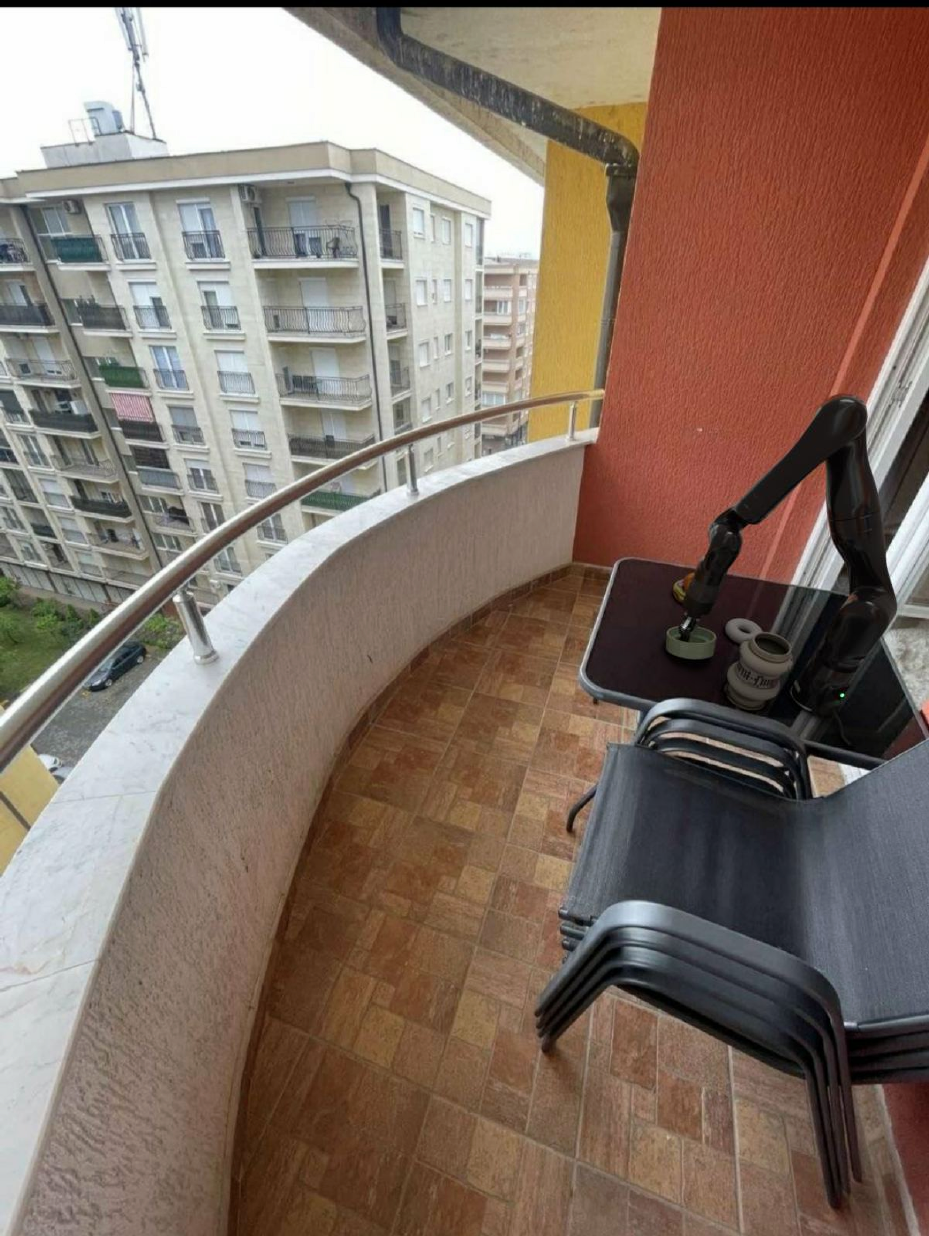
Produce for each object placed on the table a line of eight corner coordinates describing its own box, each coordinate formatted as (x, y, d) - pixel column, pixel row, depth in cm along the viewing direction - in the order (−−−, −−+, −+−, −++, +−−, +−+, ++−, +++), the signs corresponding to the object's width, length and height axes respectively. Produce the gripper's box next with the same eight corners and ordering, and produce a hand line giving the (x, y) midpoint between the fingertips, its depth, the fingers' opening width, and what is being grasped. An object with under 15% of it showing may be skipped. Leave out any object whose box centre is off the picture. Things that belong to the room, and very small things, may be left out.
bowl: (724, 656, 145) (726, 638, 143) (685, 664, 141) (687, 646, 139) (693, 639, 155) (695, 623, 154) (656, 646, 152) (657, 630, 150)
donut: (726, 645, 153) (764, 650, 152) (730, 636, 151) (768, 641, 150) (720, 622, 161) (756, 627, 159) (724, 613, 159) (761, 618, 157)
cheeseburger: (688, 583, 175) (704, 562, 167) (708, 609, 169) (726, 588, 161) (663, 590, 171) (678, 568, 163) (683, 616, 166) (699, 595, 158)
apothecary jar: (711, 678, 143) (736, 626, 131) (755, 677, 144) (784, 625, 132) (732, 714, 134) (761, 662, 122) (779, 713, 135) (812, 661, 123)
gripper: (706, 611, 134) (685, 662, 145) (726, 587, 142) (705, 637, 153) (677, 598, 137) (659, 648, 148) (699, 575, 145) (680, 625, 156)
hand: (682, 643), depth 151 cm, fingers closed
